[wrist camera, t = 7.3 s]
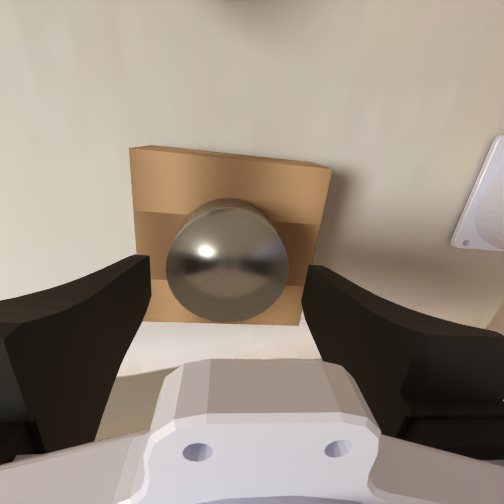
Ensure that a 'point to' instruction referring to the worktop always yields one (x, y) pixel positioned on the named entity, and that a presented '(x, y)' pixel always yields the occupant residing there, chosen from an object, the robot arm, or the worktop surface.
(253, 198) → the block
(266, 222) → the grey rounded piece
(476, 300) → the worktop surface
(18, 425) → the robot arm
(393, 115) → the worktop surface
